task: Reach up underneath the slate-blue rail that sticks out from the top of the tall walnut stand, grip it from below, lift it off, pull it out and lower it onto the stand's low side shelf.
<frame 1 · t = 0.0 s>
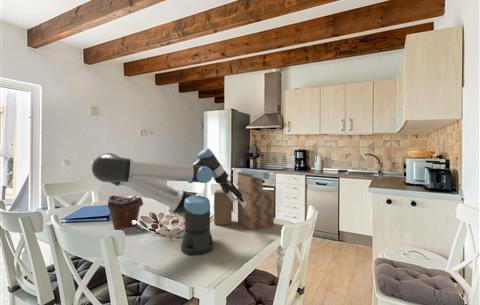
hand: (239, 203, 140), 15 cm above the table, tool tilted 35°, fingers open, 13 cm apart
wooden block: (223, 223, 154), on the table
slate rail: (254, 176, 144), point 30 cm above the table, touching walnut stand
brown pot: (125, 225, 149), on the table
walnut stand: (249, 225, 149), on the table
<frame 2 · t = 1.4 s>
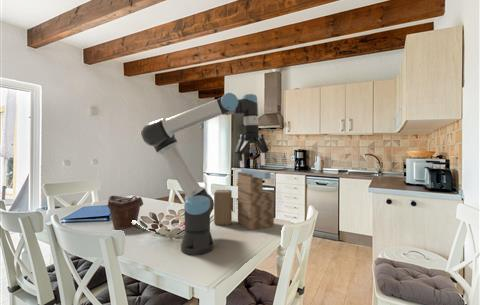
hand: (253, 166, 128), 37 cm above the table, tool pointing down, fingers open, 13 cm apart
nothing on the table moved.
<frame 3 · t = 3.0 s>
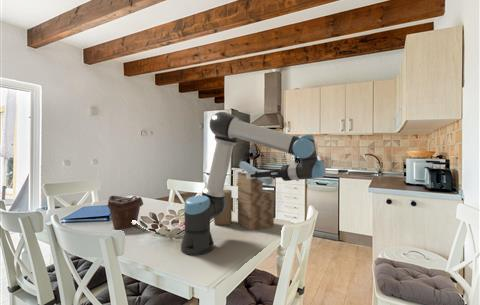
hand: (254, 176, 129), 32 cm above the table, tool horizontal, fingers open, 13 cm apart
slate rail: (254, 175, 144), point 31 cm above the table, tilted 18°, touching walnut stand
everything else where it was.
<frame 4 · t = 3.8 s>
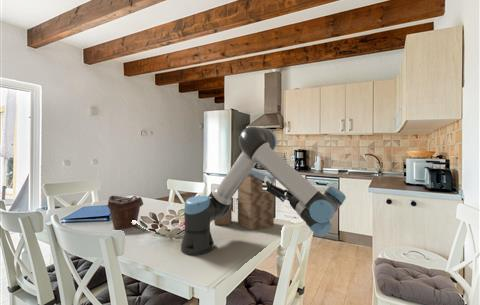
hand: (276, 177, 124), 32 cm above the table, tool pointing upward, fingers open, 13 cm apart
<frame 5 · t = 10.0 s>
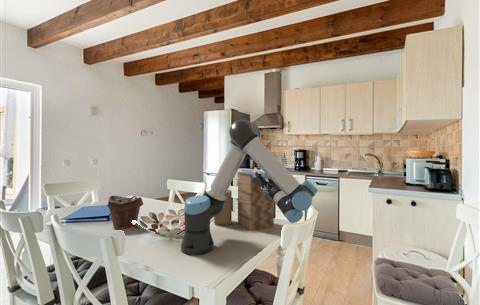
hand: (257, 169, 140), 35 cm above the table, tool pointing upward, fingers closed on slate rail, 3 cm apart
slate rail: (254, 176, 143), point 30 cm above the table, touching gripper, walnut stand
everything else where it was.
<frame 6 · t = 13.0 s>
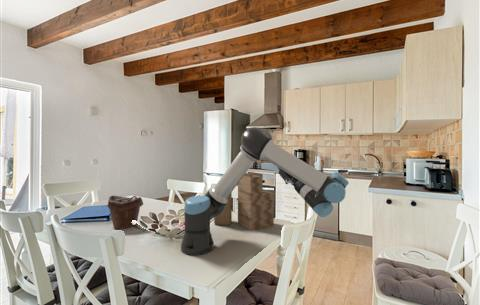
hand: (279, 162, 135), 39 cm above the table, tool pointing upward, fingers closed on slate rail, 3 cm apart
slate rail: (276, 170, 138), point 34 cm above the table, touching gripper
everything else where it was.
when the fingers open (25 cm above the table, at t = 16.4 s): slate rail stays where it is, resting on walnut stand.
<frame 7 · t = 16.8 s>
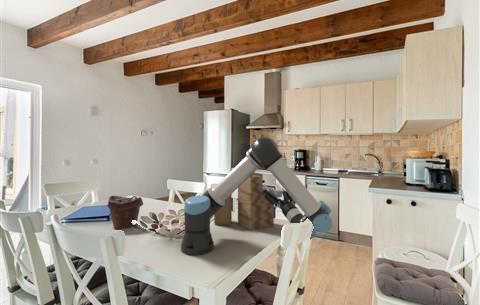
hand: (270, 185, 144), 25 cm above the table, tool pointing upward, fingers open, 8 cm apart
slate rail: (266, 193, 147), point 20 cm above the table, touching walnut stand
everything else where it was.
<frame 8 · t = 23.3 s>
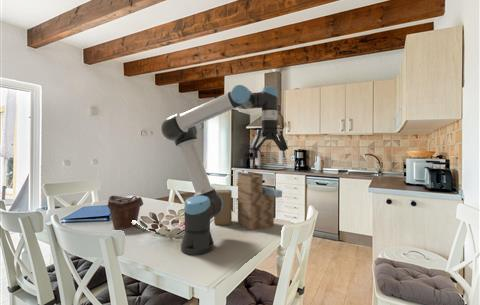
hand: (269, 164, 118), 39 cm above the table, tool pointing down, fingers open, 13 cm apart
nothing on the table moved.
at the end: slate rail inside the target area (1.0 cm from its centre), point 19.5 cm above the table; the gripper is holding nothing; slate rail touching walnut stand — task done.
